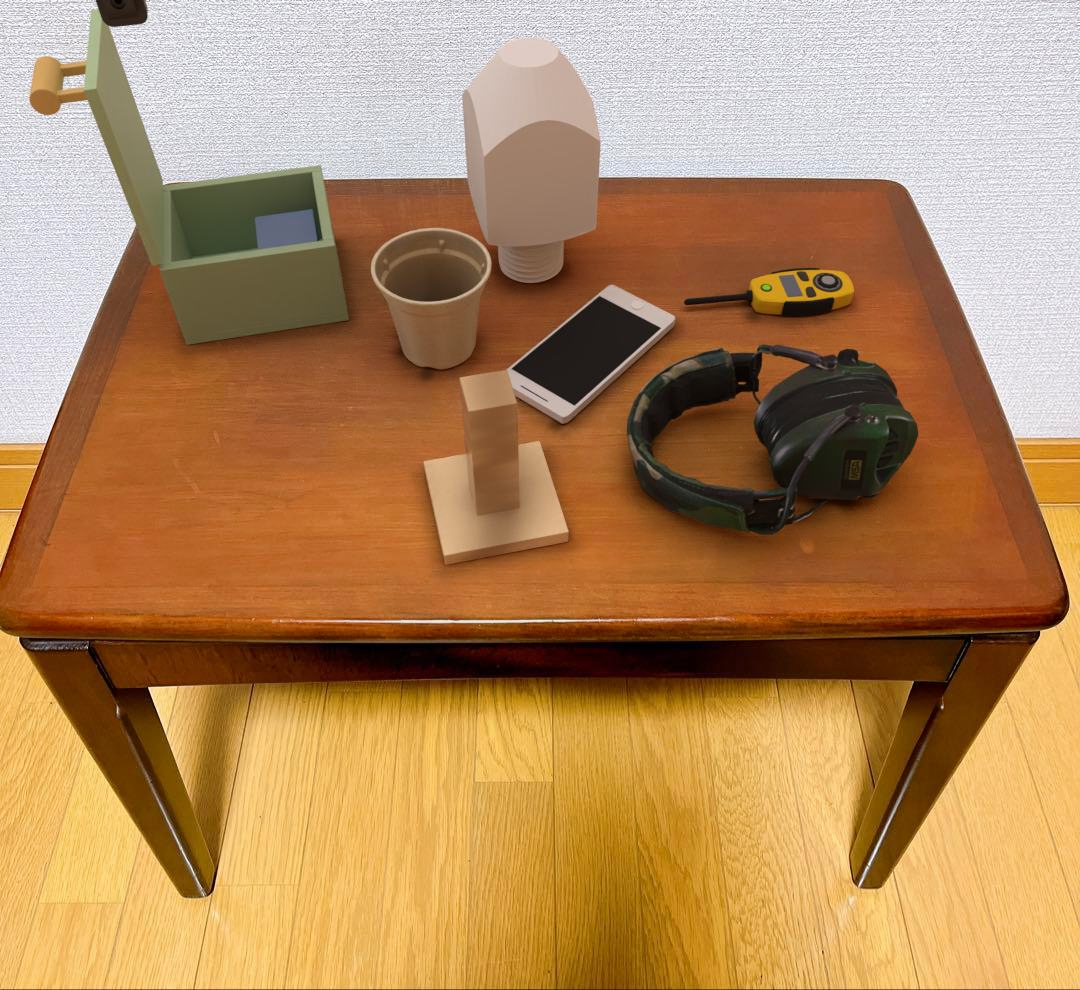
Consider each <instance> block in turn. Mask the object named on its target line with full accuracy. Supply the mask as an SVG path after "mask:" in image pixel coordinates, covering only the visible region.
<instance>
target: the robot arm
mask: <svg viewBox="0 0 1080 990" xmlns="http://www.w3.org/2000/svg"><path fill="white" fill-rule="evenodd" d="M95 4H96V6H97V9H99V12H100V15H101V18H102V20H103V22H104V23H105V24H106V25H108V26H109V27H111V28H117V27H119V28H120V27H127V26H136V25H137V26H138V25H143V24H145V23H146V22H147V20H148V17H149V16H148V15H149V11H148V10H149V8H148V5H147V1H146V0H95Z"/></svg>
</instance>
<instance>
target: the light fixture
mask: <svg viewBox="0 0 1080 990" xmlns="http://www.w3.org/2000/svg"><path fill="white" fill-rule="evenodd" d="M461 94H462V95H461V100H462V116H463V131H464V145H465V146H464V147H465V162H466V163H465V164H466V177H467V185H468V190H469V193H470V197H471V200H472V204H473V208H474V211H475V215H476V218H477V221H478V223H479V226H480V229H481V232H482V234H483V237H484V239H485V241H486V243H487V245H488V246H496V247H497V250H498V251H497V252H498V253H497V254H498V255H497V256H498V263H499V267H500V270H501V272H502V273H503V274H504V275H505V276H506V277H507V278H509V279H511V280H514V281H515V282H516V281H517V282H519V283H524V284H537V283H542V282H546V281H547V280H550V279H552V278H555V277H556V276H557V275H558V274H559V273H560V272H561V270H562V268H563V267H564V248H565V247H564V245H565V244H564V243H565V242H564V241H566V240H571V239H573V238H576V237H580V236H583V235H585V234H587V233H590V232H593V231H595V230H597V221H598V201H599V183H600V181H599V180H600V161H601V144H602V143H601V142H602V141H601V135H600V129H599V125H598V120H597V114H596V109H595V105H594V101H593V99H592V97H591V95H590V93H589V91H588V90H587V88H586V86H585V84H584V82H583V81H582V79H581V77H580V76H579V74H578V72H577V71H576V69H575V68H574V67H573V65H572V63H571V62H570V61H569V59H568V58H567V57H566V56H565V55H564V53H563V52H562V51H561V50H560V49H559V48H558V47H557V46H556V45H555V44H554V43H552V42H551V41H549V40H546V39H543V38H540V37H539V38H537V37H520V38H515V39H513V40H509V41H507V42H505V43H504V44H503V45H502V46H500V48H499V49H498V50H497V51H496V52H495V54H494V55H493V56H492V57H491V59H490V60H489V61H488V62H487V63H486V64H485V65H484V66H483V68H482V69H481V70H480V71H479V72H478V74H477V75H476V76H475V77H474V78H473V80H472V81H471V82H470V84H468V86H467V87H466V88H465V89H464V90H463V92H462V93H461Z"/></svg>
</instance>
